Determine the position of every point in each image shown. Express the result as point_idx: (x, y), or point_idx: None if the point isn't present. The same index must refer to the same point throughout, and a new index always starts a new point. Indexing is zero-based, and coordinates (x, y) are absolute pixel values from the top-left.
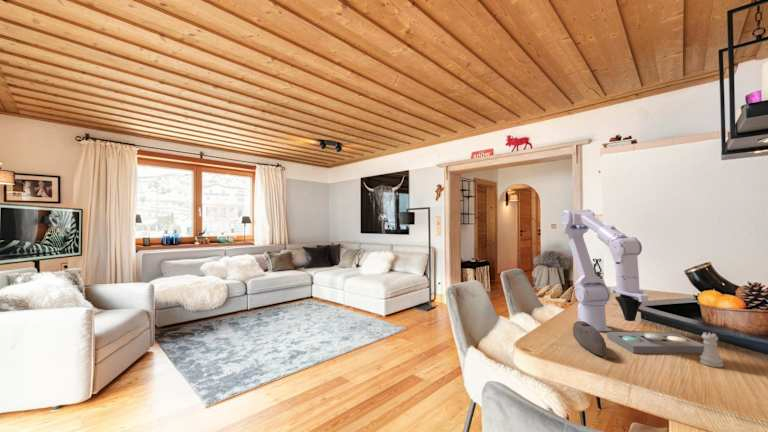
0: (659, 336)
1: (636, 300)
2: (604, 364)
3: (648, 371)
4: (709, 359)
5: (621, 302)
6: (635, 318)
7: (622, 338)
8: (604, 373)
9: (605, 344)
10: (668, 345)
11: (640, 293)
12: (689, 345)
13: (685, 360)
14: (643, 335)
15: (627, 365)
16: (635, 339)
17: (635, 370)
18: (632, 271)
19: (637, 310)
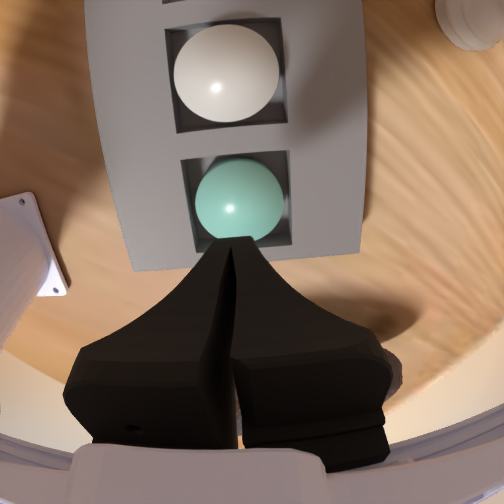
0: (250, 49)
1: (375, 416)
2: (413, 348)
3: (476, 269)
4: (493, 45)
5: (235, 437)
6: (252, 241)
7: None
8: (449, 357)
9: (396, 371)
10: (353, 70)
11: (429, 491)
12: None
13: (429, 77)
14: (165, 103)
15: (435, 302)
16: (256, 190)
17: (462, 296)
18: None
19: (285, 281)
